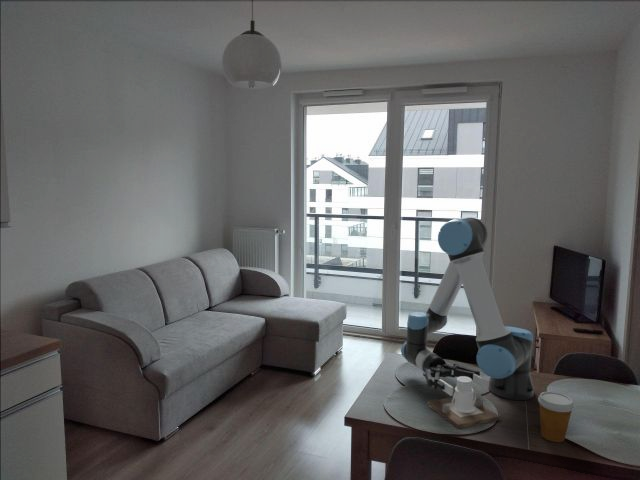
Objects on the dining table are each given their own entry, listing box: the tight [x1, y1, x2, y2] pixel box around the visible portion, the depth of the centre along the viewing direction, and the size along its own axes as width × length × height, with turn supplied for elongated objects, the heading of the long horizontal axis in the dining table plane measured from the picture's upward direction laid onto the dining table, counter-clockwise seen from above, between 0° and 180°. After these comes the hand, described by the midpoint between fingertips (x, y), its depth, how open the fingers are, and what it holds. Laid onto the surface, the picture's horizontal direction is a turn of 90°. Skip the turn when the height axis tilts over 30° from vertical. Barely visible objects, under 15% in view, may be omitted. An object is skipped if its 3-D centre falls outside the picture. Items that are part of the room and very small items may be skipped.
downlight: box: [452, 376, 477, 413], centre depth 154 cm, size 8×7×10 cm
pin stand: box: [427, 396, 501, 429], centre depth 155 cm, size 16×16×3 cm
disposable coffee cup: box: [537, 391, 575, 443], centre depth 140 cm, size 10×10×12 cm
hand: (470, 388), depth 151 cm, fingers open, 13 cm apart
